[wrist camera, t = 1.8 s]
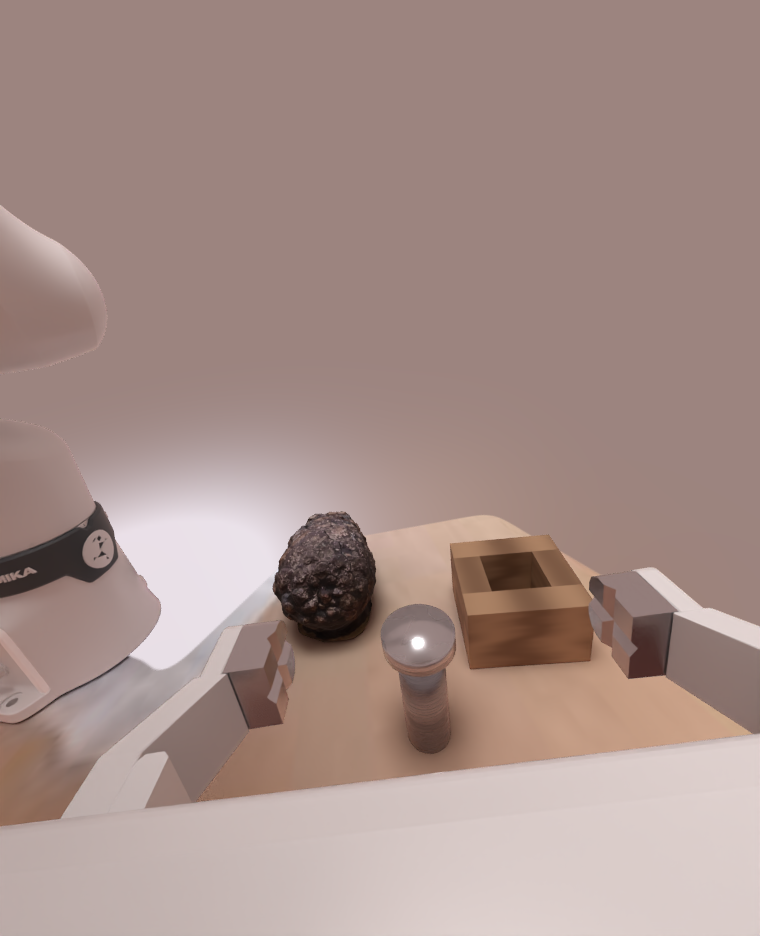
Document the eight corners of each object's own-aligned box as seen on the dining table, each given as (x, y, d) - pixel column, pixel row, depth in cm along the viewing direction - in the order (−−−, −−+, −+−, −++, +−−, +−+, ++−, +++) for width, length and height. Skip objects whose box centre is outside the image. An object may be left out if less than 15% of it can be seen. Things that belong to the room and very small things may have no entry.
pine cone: (363, 540, 54) (352, 475, 50) (393, 639, 38) (380, 553, 34) (287, 557, 52) (269, 491, 48) (284, 667, 36) (257, 581, 32)
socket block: (470, 668, 33) (467, 615, 31) (452, 589, 43) (449, 543, 40) (589, 660, 33) (596, 605, 30) (546, 581, 42) (548, 534, 40)
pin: (397, 767, 27) (379, 665, 23) (396, 702, 32) (381, 607, 28) (467, 763, 27) (460, 659, 23) (456, 698, 31) (449, 601, 27)
